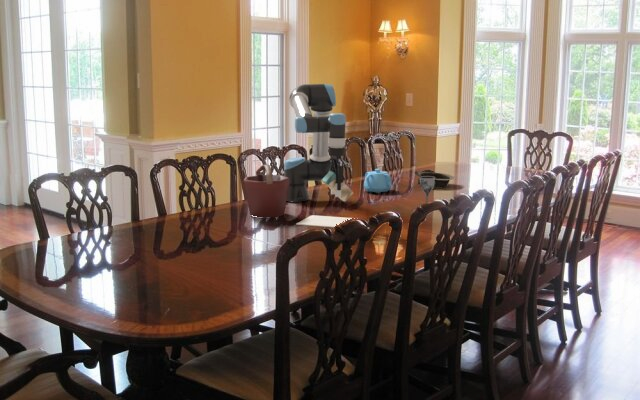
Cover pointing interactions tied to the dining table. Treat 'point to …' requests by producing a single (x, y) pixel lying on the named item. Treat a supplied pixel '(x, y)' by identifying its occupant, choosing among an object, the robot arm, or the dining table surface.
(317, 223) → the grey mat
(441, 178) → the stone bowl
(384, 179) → the decorative pot
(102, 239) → the dining table surface
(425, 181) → the wine glass
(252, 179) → the bucket
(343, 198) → the teal and beige block
